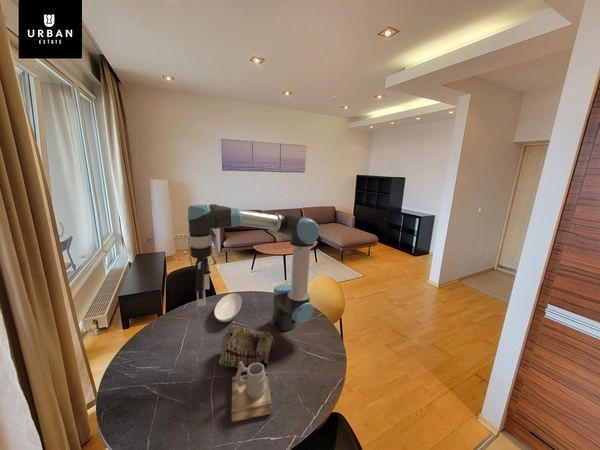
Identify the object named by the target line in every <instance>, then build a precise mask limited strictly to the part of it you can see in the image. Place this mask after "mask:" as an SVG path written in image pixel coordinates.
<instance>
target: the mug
mask: <svg viewBox="0 0 600 450" xmlns="http://www.w3.org/2000/svg"><path fill="white" fill-rule="evenodd" d="M243 372H246V375H247V377H246V378H247V379H245V380H243V379H242V378H241V376H242V375H241V374H242V373H243ZM235 377H236V383H237V384H238V386H239V387H241V386H242V385H245V384H247V385H246V392H247V394H248V396H249V397H250V398H259V397H261V396H262V395H263V394H264V393H265V390H266V383H265V366H264V364H262V363H261V362H260V363H253V364H251V365H250V366H249V367H248V366H246V367H244V364H243V363H242V362H241V361H240V363H239V368H237V371H236V374H235Z"/></svg>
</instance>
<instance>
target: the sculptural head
mask: <svg viewBox="0 0 600 450" xmlns="http://www.w3.org/2000/svg"><path fill="white" fill-rule="evenodd" d="M227 330H228V331H227V332H225V334H224V335H223V337H222V342H221V354H220V359H219V361H218V364H219V365H220V366H221V367H231V368H236V369H238V368H239V363H240V361H241V362H242V363H243V364H244V367H246V368H248V367H249V366H250V365H251V364H253V363H261V362H262V361H263V363H265V364H270V359H271V354H272V352H273V351H274V350H273V349H274V346H275V340H274V335H273V334H271V332H265V331H259V330H256V329H252V328H247V327H242V326H241V325H237V324H235V325H232V326H230V327H228V328H227Z"/></svg>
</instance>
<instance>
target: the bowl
mask: <svg viewBox="0 0 600 450" xmlns="http://www.w3.org/2000/svg"><path fill="white" fill-rule="evenodd" d="M242 303H243V299H242V296H241V295H240V294H239V293H229V294H227V295H225V296H223V297H222V298H221V299H219V301H218V302H217V304H216V305H215V308H214V314H213V315H214V317H215V318H216V319H217V320H218V321H220V322H221V323H222V322H223V323H225V322H226V323H227V322H230V321H232V320H233V319H234V318H235V317H236V316H237V315H238V313H239V312H240V310H241V307H242Z"/></svg>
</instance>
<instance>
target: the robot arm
mask: <svg viewBox="0 0 600 450" xmlns="http://www.w3.org/2000/svg"><path fill="white" fill-rule="evenodd" d="M187 220H188V233H189V234H188V235H189V237H187V240H189V245H190V248H189V249H190V256H191V258H194V259H196V261H195V288H193V289H194V292H196V301H197V307H206V302H207V301H206V291H205V290H210V287H211V286H210V275H209V274H211V270H210V267H209V259H208V257H210V256H212V254H213V251H212V250H213V249H212V233H211V230H217V229H219V230H220V229H229V228H235V227H239V226H241V227H243V226H244V227H248V228H249V227H251V228H258V229H265V230H266V229H267V230H271V231H272V232H274V233H279V234H282V235H284V236H287V237H290V241H289V242H290V243H289V244H290V246H291V247H292V260H291V261H292V264H291V277H290V278H291V279H290V280H291V281H290V284H288V283H286V284H285V283H284V284H279V285H276V286H275V287H274V289H273V312H272V315H271V318H270V322H269V323H270V327H271V328H272V329H274V330H275V331H279V332H287V331H291V330H293V329H294V328H295V327H297V323H298V324H303V323H305V322H307V321H308V320H309V319H310V318H311V317H312V315H313V313H314V305H313V303H311V302H310V300H311V294H310V293H309V292H308V288H309V287H308V286H309V271H310V257H311V256H310V254H311V248H312V247H313V246H314V244H315V242H316V241H317V240H318V238H319V236H320V227H319V225H318V223H317V222H316V221H315V220H313V219H311V218H309V217H303V216H300V215H297V214H285V213H274V214H270V213H264V212H259V211H252V210H247V209H242V208H235V207H230V206H224V205H219V204H216V203H212V204H211V203H210V204H192V205H190V206H188V208H187Z"/></svg>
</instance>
